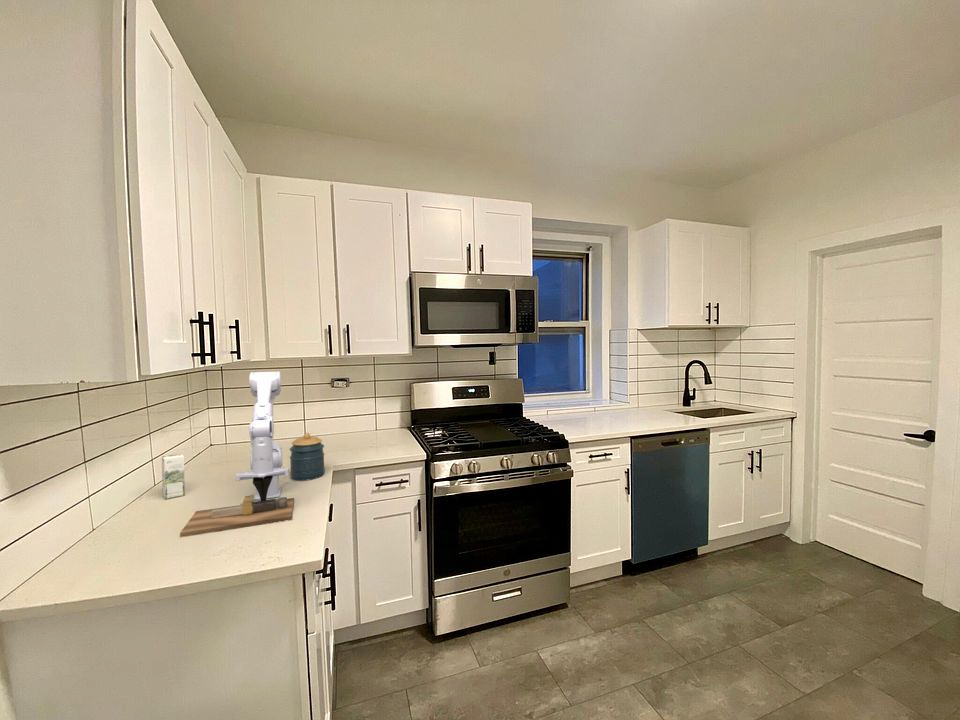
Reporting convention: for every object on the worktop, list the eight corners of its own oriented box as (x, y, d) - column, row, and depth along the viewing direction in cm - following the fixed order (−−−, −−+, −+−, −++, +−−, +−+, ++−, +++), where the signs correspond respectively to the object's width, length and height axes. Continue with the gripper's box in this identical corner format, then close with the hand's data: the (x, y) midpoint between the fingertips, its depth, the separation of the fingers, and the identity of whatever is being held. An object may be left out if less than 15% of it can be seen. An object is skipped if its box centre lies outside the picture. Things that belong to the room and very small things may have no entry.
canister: (286, 482, 156) (285, 437, 156) (294, 472, 169) (293, 430, 168) (321, 479, 159) (320, 435, 158) (327, 469, 172) (326, 429, 171)
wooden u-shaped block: (245, 508, 128) (245, 496, 127) (254, 507, 128) (254, 495, 128) (242, 515, 122) (242, 502, 122) (252, 513, 123) (251, 501, 123)
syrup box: (182, 491, 147) (181, 452, 147) (185, 495, 143) (184, 455, 142) (162, 495, 143) (161, 455, 143) (165, 500, 139) (163, 458, 138)
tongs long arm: (212, 516, 122) (212, 509, 122) (275, 507, 128) (275, 501, 128) (211, 518, 120) (211, 511, 120) (275, 509, 126) (274, 503, 126)
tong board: (196, 514, 126) (195, 503, 126) (294, 501, 137) (293, 490, 137) (180, 537, 111) (179, 523, 111) (291, 519, 122) (291, 507, 122)
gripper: (233, 463, 120) (234, 508, 120) (287, 458, 125) (288, 501, 126) (237, 457, 126) (238, 500, 127) (288, 452, 132) (289, 493, 132)
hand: (263, 500), depth 127 cm, fingers closed
